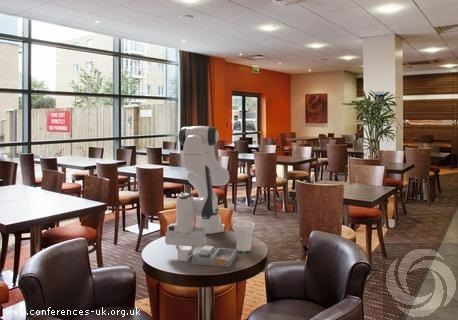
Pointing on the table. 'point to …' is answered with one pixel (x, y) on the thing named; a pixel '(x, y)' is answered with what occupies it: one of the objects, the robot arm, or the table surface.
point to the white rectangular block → (184, 253)
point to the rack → (214, 256)
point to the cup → (243, 235)
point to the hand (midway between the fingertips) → (185, 254)
